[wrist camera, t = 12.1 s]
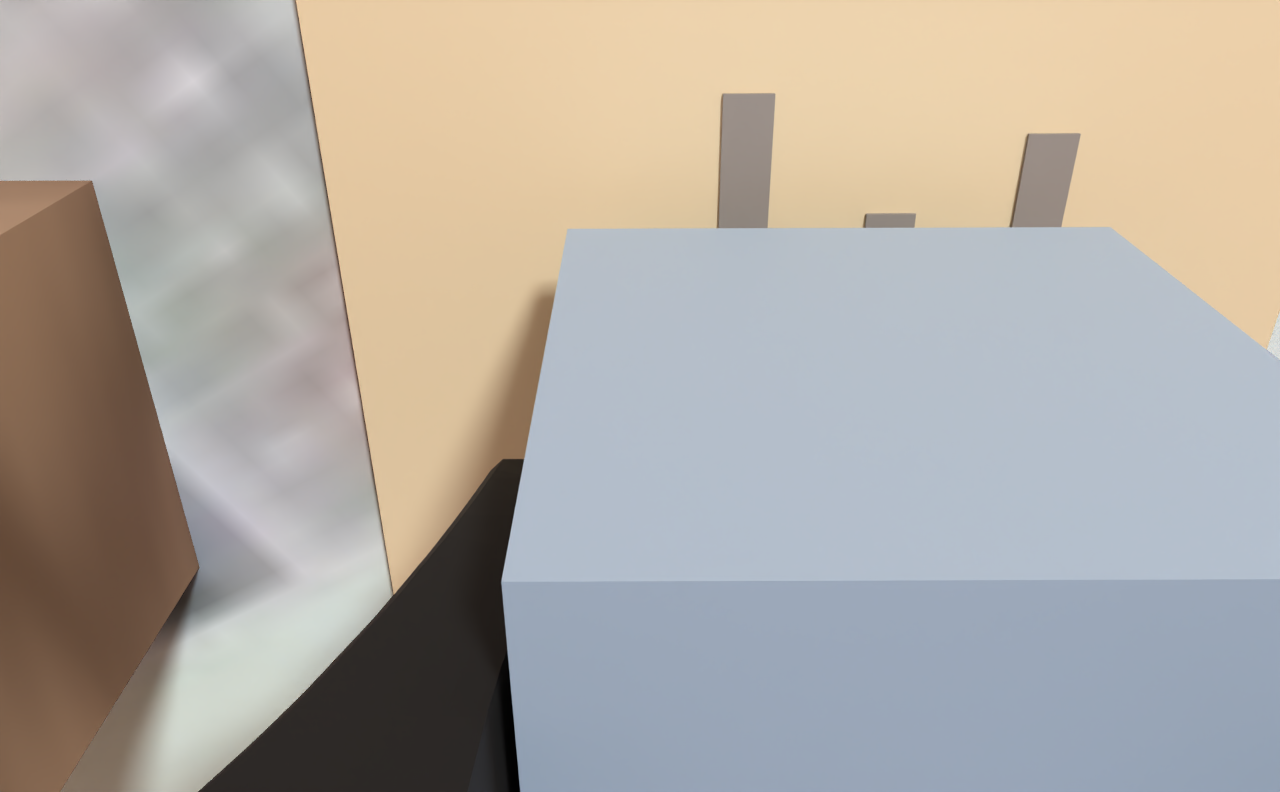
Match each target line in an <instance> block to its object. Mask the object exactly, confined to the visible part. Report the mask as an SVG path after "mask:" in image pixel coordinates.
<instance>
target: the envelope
mask: <svg viewBox="0 0 1280 792" xmlns="http://www.w3.org/2000/svg"><path fill="white" fill-rule="evenodd" d="M296 4H297V10H298V16H299V23H300V29H301V35H302V41H303V47H304V53H305V59H306V65H307V71H308V77H309V83H310V89H311V95H312V101H313V108H314V114H315V120H316V126H317V132H318V138H319V144H320V150H321V156H322V162H323V168H324V174H325V180H326V186H327V193H328V199H329V205H330V211H331V217H332V223H333V229H334V235H335V241H336V247H337V253H338V259H339V265H340V272H341V278H342V284H343V290H344V296H345V302H346V308H347V314H348V320H349V326H350V332H351V338H352V344H353V350H354V357H355V363H356V369H357V375H358V381H359V387H360V393H361V399H362V405H363V411H364V417H365V423H366V429H367V435H368V442H369V448H370V454H371V460H372V466H373V472H374V478H375V484H376V490H377V496H378V502H379V508H380V514H381V521H382V527H383V533H384V539H385V545H386V551H387V557H388V563H389V569H390V575H391V581H392V587H393V593H394V594H395V593H396V592H397V590H398V589H399V588H400V587H401V586H402V584H403V583H404V582H405V581H406V580H407V578H408V577H409V576H410V575H411V574H412V572H413V571H414V570H415V569H416V568H417V566H418V565H419V564H420V563H421V562H422V561H423V559H424V558H425V557H426V556H427V555H428V553H429V552H430V551H431V550H432V548H433V547H434V546H435V544H436V543H437V542H438V541H439V539H440V538H441V537H442V535H443V534H444V533H445V532H446V530H447V529H448V528H449V526H450V525H451V524H452V523H453V521H454V520H455V519H456V517H457V516H458V515H459V513H460V512H461V511H462V509H463V508H464V507H465V505H466V504H467V503H468V501H469V500H470V499H471V497H472V496H473V494H474V493H475V492H476V490H477V489H478V487H479V486H480V485H481V483H482V482H483V480H484V479H485V478H486V476H487V475H488V473H489V472H490V471H491V469H493V468H494V467H495V466H496V465H497V464H498V463H499V462H500V461H501V460H502V459H524V458H525V453H526V447H527V442H528V437H529V431H530V426H531V421H532V415H533V410H534V405H535V399H536V394H537V389H538V383H539V378H540V373H541V367H542V362H543V357H544V351H545V346H546V341H547V335H548V330H549V325H550V319H551V314H552V309H553V303H554V298H555V293H556V287H557V282H558V277H559V271H560V266H561V261H562V255H563V250H564V245H565V239H566V234H567V229H648V228H982V227H1111V228H1112V229H1114V230H1115V231H1116V232H1117V233H1119V234H1120V235H1121V236H1122V237H1124V238H1125V239H1126V240H1128V241H1129V242H1130V243H1131V244H1133V245H1134V246H1135V247H1136V248H1138V249H1139V250H1140V251H1142V252H1143V253H1144V254H1145V255H1147V256H1148V257H1149V258H1150V259H1152V260H1153V261H1154V262H1156V263H1157V264H1158V265H1159V266H1161V267H1162V268H1163V269H1164V270H1166V271H1167V272H1168V273H1170V274H1171V275H1172V276H1173V277H1175V278H1176V279H1177V280H1178V281H1180V282H1181V283H1182V284H1184V285H1185V286H1186V287H1187V288H1189V289H1190V290H1191V291H1192V292H1194V293H1195V294H1196V295H1198V296H1199V297H1200V298H1201V299H1203V300H1204V301H1205V302H1206V303H1208V304H1209V305H1210V306H1212V307H1213V308H1214V309H1215V310H1217V311H1218V312H1219V313H1220V314H1222V315H1223V316H1224V317H1226V318H1227V319H1228V320H1229V321H1231V322H1232V323H1233V324H1234V325H1236V326H1237V327H1238V328H1240V329H1241V330H1242V331H1243V332H1245V333H1246V334H1247V335H1248V336H1250V337H1251V338H1252V339H1254V340H1255V341H1256V342H1257V343H1259V344H1260V345H1261V346H1262V347H1264V348H1265V349H1266V350H1267V347H1268V344H1269V341H1270V338H1271V335H1272V332H1273V329H1274V326H1275V323H1276V320H1277V317H1278V314H1279V311H1280V0H296Z"/></svg>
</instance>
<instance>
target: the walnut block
mask: <svg viewBox="0 0 1280 792" xmlns="http://www.w3.org/2000/svg"><path fill="white" fill-rule="evenodd" d="M198 568H199V564H198V560H197V557H196V553H195V550H194V546H193V542H192V539H191V535H190V532H189V528H188V524H187V521H186V517H185V514H184V510H183V506H182V503H181V499H180V496H179V492H178V488H177V485H176V481H175V478H174V474H173V470H172V467H171V463H170V460H169V456H168V452H167V449H166V445H165V442H164V438H163V434H162V431H161V427H160V424H159V420H158V417H157V413H156V409H155V406H154V402H153V399H152V395H151V391H150V388H149V384H148V381H147V377H146V373H145V370H144V366H143V363H142V359H141V355H140V352H139V348H138V345H137V341H136V337H135V334H134V330H133V327H132V323H131V319H130V316H129V312H128V309H127V305H126V302H125V298H124V294H123V291H122V287H121V284H120V280H119V276H118V273H117V269H116V266H115V262H114V258H113V255H112V251H111V248H110V244H109V240H108V237H107V233H106V230H105V226H104V222H103V219H102V215H101V212H100V208H99V204H98V201H97V197H96V194H95V190H94V187H93V183H92V181H0V792H60V791H61V789H62V788H63V786H64V785H65V783H66V781H67V780H68V778H69V776H70V775H71V773H72V772H73V770H74V768H75V767H76V765H77V764H78V762H79V760H80V759H81V757H82V755H83V754H84V752H85V751H86V749H87V747H88V746H89V744H90V743H91V741H92V739H93V738H94V736H95V735H96V733H97V731H98V730H99V728H100V726H101V725H102V723H103V722H104V720H105V718H106V717H107V715H108V714H109V712H110V710H111V709H112V707H113V705H114V704H115V702H116V701H117V699H118V697H119V696H120V694H121V693H122V691H123V689H124V688H125V686H126V685H127V683H128V681H129V680H130V678H131V676H132V675H133V673H134V672H135V670H136V668H137V667H138V665H139V664H140V662H141V660H142V659H143V657H144V656H145V654H146V652H147V651H148V649H149V647H150V646H151V644H152V643H153V641H154V639H155V638H156V636H157V635H158V633H159V631H160V630H161V628H162V626H163V625H164V623H165V622H166V620H167V618H168V617H169V615H170V614H171V612H172V610H173V609H174V607H175V606H176V604H177V602H178V601H179V599H180V597H181V596H182V594H183V593H184V591H185V589H186V588H187V586H188V585H189V583H190V581H191V580H192V578H193V576H194V575H195V573H196V572H197V570H198Z"/></svg>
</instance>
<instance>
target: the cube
mask: <svg viewBox="0 0 1280 792" xmlns="http://www.w3.org/2000/svg"><path fill="white" fill-rule="evenodd" d="M501 584H502V595H503V606H504V617H505V628H506V639H507V650H508V661H509V672H510V684H511V695H512V706H513V717H514V728H515V739H516V750H517V761H518V772H519V783H520V792H1280V360H1279V359H1278V358H1276V357H1275V356H1274V355H1273V354H1271V353H1270V352H1269V351H1268V350H1266V349H1265V348H1264V347H1262V346H1261V345H1260V344H1259V343H1257V342H1256V341H1255V340H1254V339H1252V338H1251V337H1250V336H1248V335H1247V334H1246V333H1245V332H1243V331H1242V330H1241V329H1240V328H1238V327H1237V326H1236V325H1234V324H1233V323H1232V322H1231V321H1229V320H1228V319H1227V318H1226V317H1224V316H1223V315H1222V314H1220V313H1219V312H1218V311H1217V310H1215V309H1214V308H1213V307H1212V306H1210V305H1209V304H1208V303H1206V302H1205V301H1204V300H1203V299H1201V298H1200V297H1199V296H1198V295H1196V294H1195V293H1194V292H1192V291H1191V290H1190V289H1189V288H1187V287H1186V286H1185V285H1184V284H1182V283H1181V282H1180V281H1178V280H1177V279H1176V278H1175V277H1173V276H1172V275H1171V274H1170V273H1168V272H1167V271H1166V270H1164V269H1163V268H1162V267H1161V266H1159V265H1158V264H1157V263H1156V262H1154V261H1153V260H1152V259H1150V258H1149V257H1148V256H1147V255H1145V254H1144V253H1143V252H1142V251H1140V250H1139V249H1138V248H1136V247H1135V246H1134V245H1133V244H1131V243H1130V242H1129V241H1128V240H1126V239H1125V238H1124V237H1122V236H1121V235H1120V234H1119V233H1117V232H1116V231H1115V230H1114V229H1112V228H1111V227H982V228H648V229H567V234H566V239H565V245H564V250H563V255H562V261H561V266H560V271H559V277H558V282H557V287H556V293H555V298H554V303H553V309H552V314H551V319H550V325H549V330H548V335H547V341H546V346H545V351H544V357H543V362H542V367H541V373H540V378H539V383H538V389H537V394H536V399H535V405H534V410H533V415H532V421H531V426H530V431H529V437H528V442H527V447H526V453H525V458H524V463H523V469H522V474H521V479H520V485H519V490H518V495H517V501H516V506H515V511H514V517H513V522H512V527H511V533H510V538H509V543H508V549H507V554H506V559H505V565H504V570H503V575H502V581H501Z"/></svg>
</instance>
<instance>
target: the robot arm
mask: <svg viewBox="0 0 1280 792" xmlns="http://www.w3.org/2000/svg"><path fill="white" fill-rule="evenodd" d="M523 463H524V459H502V460H501V461H500V462H499V463H498V464H497V465H496V466H495V467H494V468H493V469H491V471H490V472H489V473H488V475H487V476H486V478H485V479H484V480H483V482H482V483H481V485H480V486H479V487H478V489H477V490H476V492H475V493H474V494H473V496H472V497H471V499H470V500H469V501H468V503H467V504H466V505H465V507H464V508H463V509H462V511H461V512H460V513H459V515H458V516H457V517H456V519H455V520H454V521H453V523H452V524H451V525H450V526H449V528H448V529H447V530H446V532H445V533H444V534H443V535H442V537H441V538H440V539H439V541H438V542H437V543H436V544H435V546H434V547H433V548H432V550H431V551H430V552H429V553H428V555H427V556H426V557H425V558H424V559H423V561H422V562H421V563H420V564H419V565H418V566H417V568H416V569H415V570H414V571H413V572H412V574H411V575H410V576H409V577H408V578H407V580H406V581H405V582H404V583H403V584H402V586H401V587H400V588H399V589H398V590H397V592H396V593H395V594H394V595H393V596H392V598H391V599H390V600H389V601H388V602H387V604H386V605H385V606H384V607H383V608H382V609H381V610H380V612H379V613H378V614H377V615H376V616H375V617H374V618H373V620H372V621H371V622H370V623H369V624H368V625H367V626H366V627H365V628H364V629H363V630H362V631H361V633H360V634H359V635H358V636H357V637H356V638H355V639H354V640H353V641H352V642H351V643H350V644H349V645H348V646H347V647H346V648H345V650H344V651H343V652H342V653H341V654H340V655H339V656H338V657H337V658H336V659H335V660H334V661H333V662H332V663H331V664H330V665H329V667H328V668H327V669H326V670H325V671H324V672H323V673H322V674H321V675H320V676H319V677H318V678H317V679H316V680H315V681H314V683H313V684H312V685H311V686H310V687H309V688H308V689H307V690H306V691H305V692H304V693H303V694H302V695H301V696H300V697H299V698H298V699H297V700H296V701H295V702H294V703H293V704H292V705H291V706H290V707H289V708H288V709H287V710H286V711H285V712H284V713H283V714H282V715H281V716H280V717H279V718H278V719H277V720H276V721H274V722H273V723H272V724H271V725H270V726H269V727H268V728H267V729H266V730H265V731H264V732H263V733H262V734H261V735H260V736H259V737H258V738H257V739H256V740H255V741H253V742H252V743H251V744H250V745H249V746H248V747H247V748H246V749H245V750H244V751H243V752H242V753H241V754H239V755H238V756H237V757H236V758H235V759H234V760H233V761H232V762H231V763H230V764H228V765H227V766H226V767H225V768H224V769H223V770H222V771H221V772H220V773H218V774H217V775H216V776H215V777H214V778H213V779H212V780H211V781H210V782H208V783H207V784H206V785H205V786H204V787H203V788H202V789H201V790H200V791H198V792H520V783H519V772H518V761H517V750H516V739H515V728H514V717H513V706H512V695H511V684H510V672H509V661H508V650H507V639H506V628H505V617H504V606H503V595H502V584H501V581H502V575H503V570H504V565H505V559H506V554H507V549H508V543H509V538H510V533H511V527H512V522H513V517H514V511H515V506H516V501H517V495H518V490H519V485H520V479H521V474H522V469H523Z"/></svg>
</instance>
